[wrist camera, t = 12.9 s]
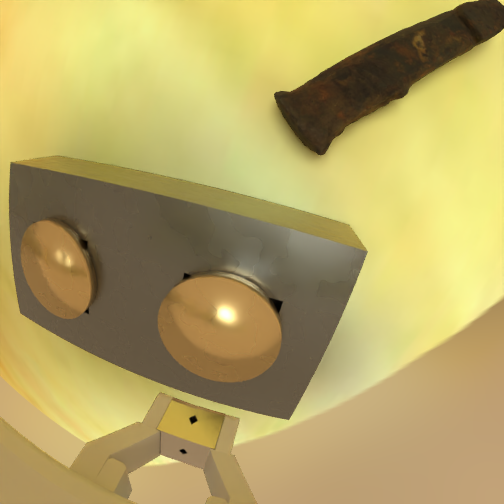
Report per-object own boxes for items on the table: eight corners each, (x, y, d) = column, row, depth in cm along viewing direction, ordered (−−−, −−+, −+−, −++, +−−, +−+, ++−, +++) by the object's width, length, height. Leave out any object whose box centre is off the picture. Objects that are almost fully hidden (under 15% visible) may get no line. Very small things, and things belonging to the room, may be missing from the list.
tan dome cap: (180, 320, 20) (154, 360, 16) (195, 234, 18) (164, 261, 13) (269, 347, 20) (261, 394, 15) (298, 264, 17) (299, 301, 13)
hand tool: (310, 158, 17) (316, 160, 12) (272, 103, 16) (265, 87, 12) (504, 53, 11) (539, 42, 7) (475, 9, 10) (505, -11, 6)
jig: (55, 288, 23) (14, 317, 17) (56, 155, 18) (2, 163, 13) (291, 371, 22) (288, 429, 16) (349, 224, 17) (371, 257, 12)
